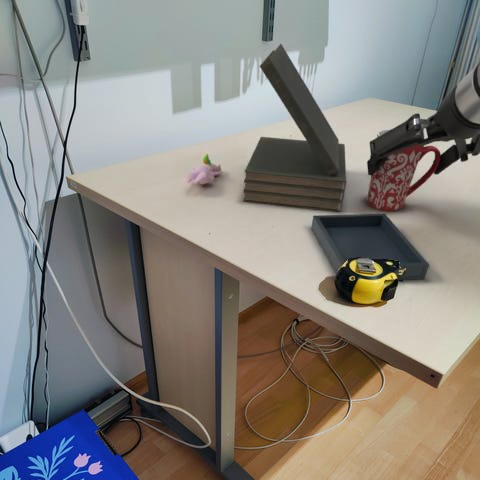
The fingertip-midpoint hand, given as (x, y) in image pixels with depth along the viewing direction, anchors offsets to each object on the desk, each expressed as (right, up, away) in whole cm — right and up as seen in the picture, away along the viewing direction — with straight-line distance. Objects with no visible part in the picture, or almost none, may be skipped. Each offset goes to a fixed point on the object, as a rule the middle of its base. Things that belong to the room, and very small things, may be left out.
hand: (402, 168), depth 82 cm
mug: (0, -6, +5) cm, 8 cm away
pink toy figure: (-39, 0, +10) cm, 41 cm away
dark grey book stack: (-19, 0, +11) cm, 22 cm away
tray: (-11, -18, -10) cm, 23 cm away
